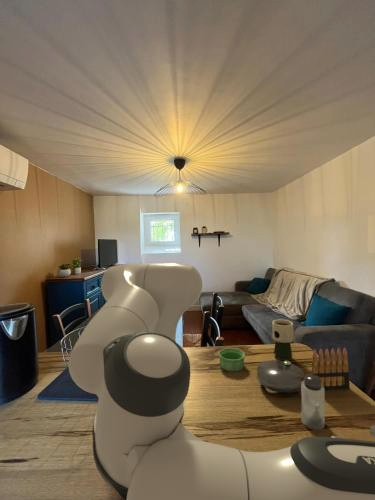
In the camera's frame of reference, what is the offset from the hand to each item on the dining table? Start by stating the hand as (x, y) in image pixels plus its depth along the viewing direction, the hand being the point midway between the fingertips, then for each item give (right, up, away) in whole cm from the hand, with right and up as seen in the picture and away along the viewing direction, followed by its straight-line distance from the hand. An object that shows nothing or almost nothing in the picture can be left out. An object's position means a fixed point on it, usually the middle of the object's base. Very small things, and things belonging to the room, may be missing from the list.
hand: (353, 433), depth 50 cm
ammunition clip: (+9, -4, +24) cm, 26 cm away
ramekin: (-17, -4, +39) cm, 43 cm away
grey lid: (-5, -4, +26) cm, 27 cm away
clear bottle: (-2, -5, +11) cm, 13 cm away
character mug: (+2, -3, +43) cm, 43 cm away
